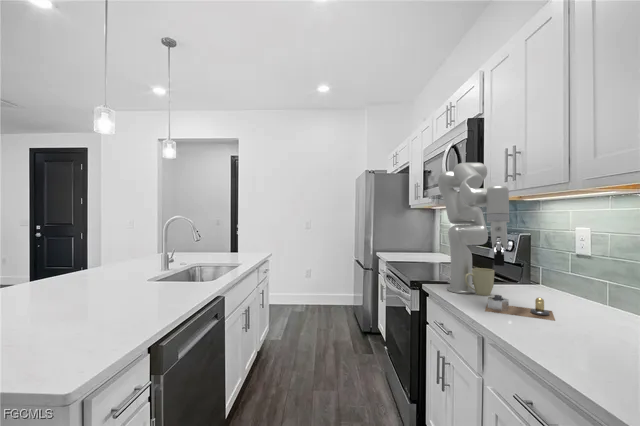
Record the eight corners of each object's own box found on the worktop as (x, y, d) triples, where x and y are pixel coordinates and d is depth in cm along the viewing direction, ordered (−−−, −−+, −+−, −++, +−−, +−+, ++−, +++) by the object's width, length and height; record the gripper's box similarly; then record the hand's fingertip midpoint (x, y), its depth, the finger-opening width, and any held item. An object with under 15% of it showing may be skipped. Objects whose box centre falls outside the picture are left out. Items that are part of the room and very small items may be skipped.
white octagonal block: (483, 306, 125) (483, 297, 125) (498, 305, 126) (498, 296, 126) (497, 311, 118) (497, 301, 118) (512, 310, 120) (512, 300, 120)
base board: (484, 314, 119) (484, 311, 119) (487, 305, 130) (487, 302, 130) (555, 324, 108) (555, 320, 108) (552, 314, 119) (552, 310, 119)
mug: (475, 293, 151) (475, 267, 152) (498, 297, 144) (498, 270, 144) (464, 296, 144) (464, 269, 145) (487, 301, 137) (487, 272, 137)
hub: (526, 312, 117) (526, 296, 117) (539, 310, 119) (539, 295, 119) (540, 316, 112) (540, 300, 112) (553, 315, 113) (553, 299, 113)
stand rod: (493, 307, 123) (492, 295, 123) (498, 307, 123) (498, 294, 124) (497, 309, 121) (497, 296, 121) (503, 309, 121) (503, 296, 121)
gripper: (510, 218, 114) (511, 267, 113) (508, 219, 129) (510, 262, 128) (486, 218, 117) (487, 266, 117) (487, 219, 132) (488, 261, 132)
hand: (499, 264), depth 122 cm, fingers open, 9 cm apart
